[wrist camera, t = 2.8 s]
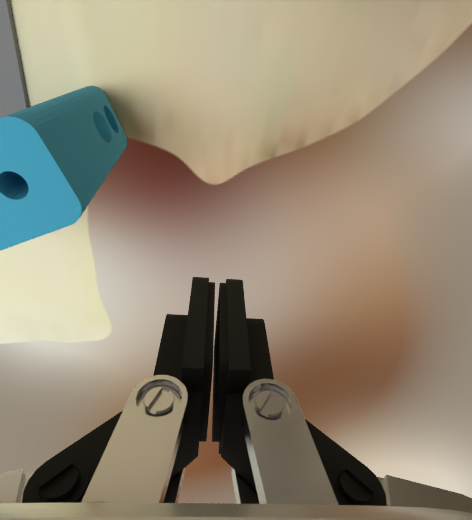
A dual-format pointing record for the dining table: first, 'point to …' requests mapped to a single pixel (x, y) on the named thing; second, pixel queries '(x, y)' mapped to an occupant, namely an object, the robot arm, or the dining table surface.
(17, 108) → the gray square mat
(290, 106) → the dining table surface
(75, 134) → the block
